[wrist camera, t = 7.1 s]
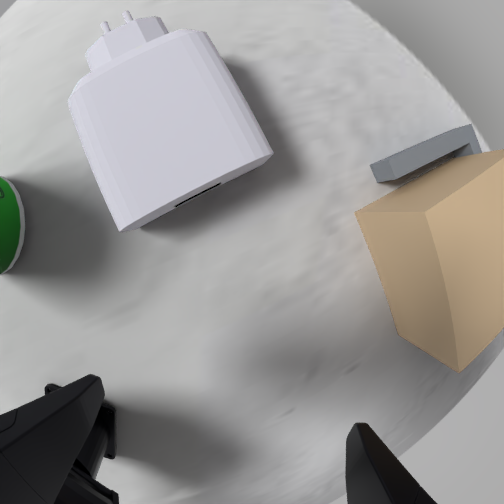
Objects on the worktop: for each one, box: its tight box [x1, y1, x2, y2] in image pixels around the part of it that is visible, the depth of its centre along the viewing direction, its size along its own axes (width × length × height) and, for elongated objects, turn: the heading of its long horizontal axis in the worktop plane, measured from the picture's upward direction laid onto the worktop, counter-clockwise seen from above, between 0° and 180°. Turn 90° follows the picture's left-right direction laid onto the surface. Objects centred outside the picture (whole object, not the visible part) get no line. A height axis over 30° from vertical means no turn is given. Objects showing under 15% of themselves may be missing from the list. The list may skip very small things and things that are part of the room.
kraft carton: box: [354, 149, 504, 373], centre depth 18 cm, size 12×11×8 cm
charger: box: [67, 11, 274, 232], centre depth 15 cm, size 5×9×15 cm
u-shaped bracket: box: [370, 124, 482, 183], centre depth 21 cm, size 11×17×2 cm, turn 26°
